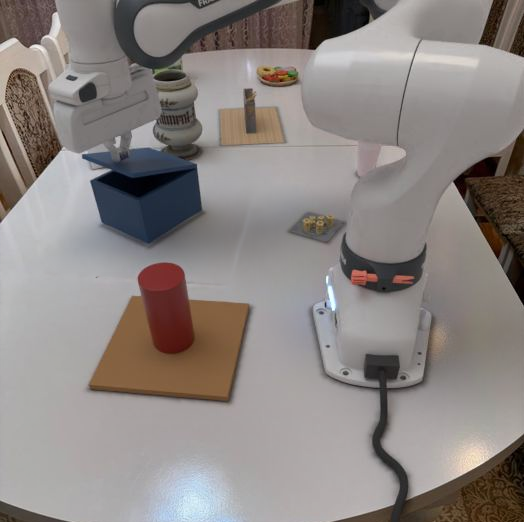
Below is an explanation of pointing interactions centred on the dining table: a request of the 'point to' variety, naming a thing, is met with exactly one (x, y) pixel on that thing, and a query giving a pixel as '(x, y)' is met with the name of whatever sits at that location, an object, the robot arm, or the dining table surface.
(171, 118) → the apothecary jar
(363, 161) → the smoothie
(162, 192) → the cooler
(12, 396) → the dining table surface
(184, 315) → the can
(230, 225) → the dining table surface
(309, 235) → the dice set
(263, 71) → the toy food set
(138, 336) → the mat
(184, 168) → the cooler lid
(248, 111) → the ruin model on sheet
